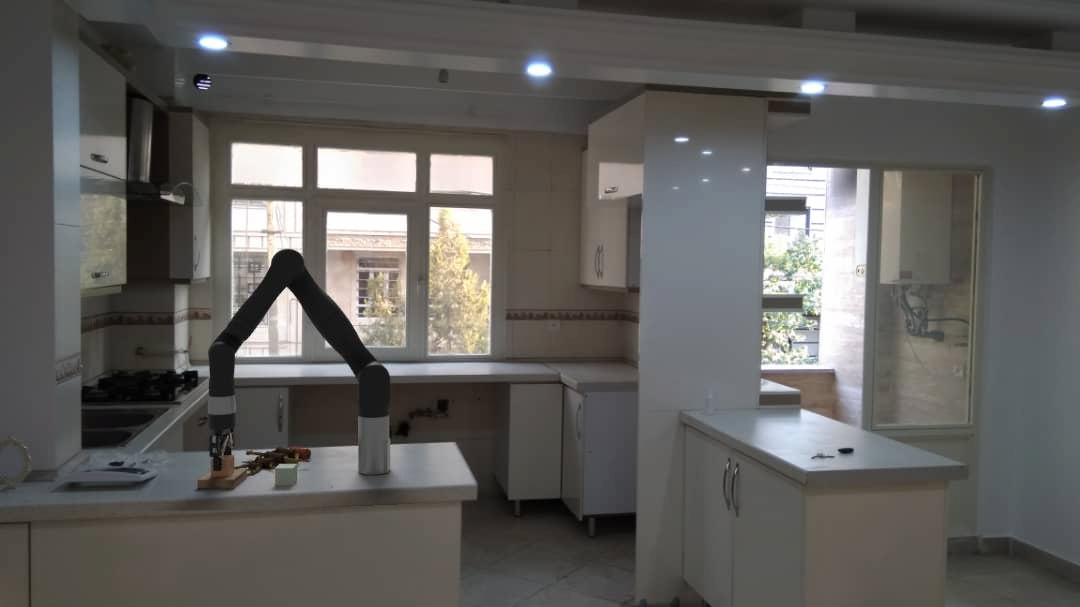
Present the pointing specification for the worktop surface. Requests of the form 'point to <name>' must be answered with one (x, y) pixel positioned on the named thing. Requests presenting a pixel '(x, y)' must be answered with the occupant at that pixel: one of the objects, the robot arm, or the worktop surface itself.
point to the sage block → (286, 474)
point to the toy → (275, 458)
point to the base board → (222, 480)
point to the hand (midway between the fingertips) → (222, 467)
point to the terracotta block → (224, 467)
